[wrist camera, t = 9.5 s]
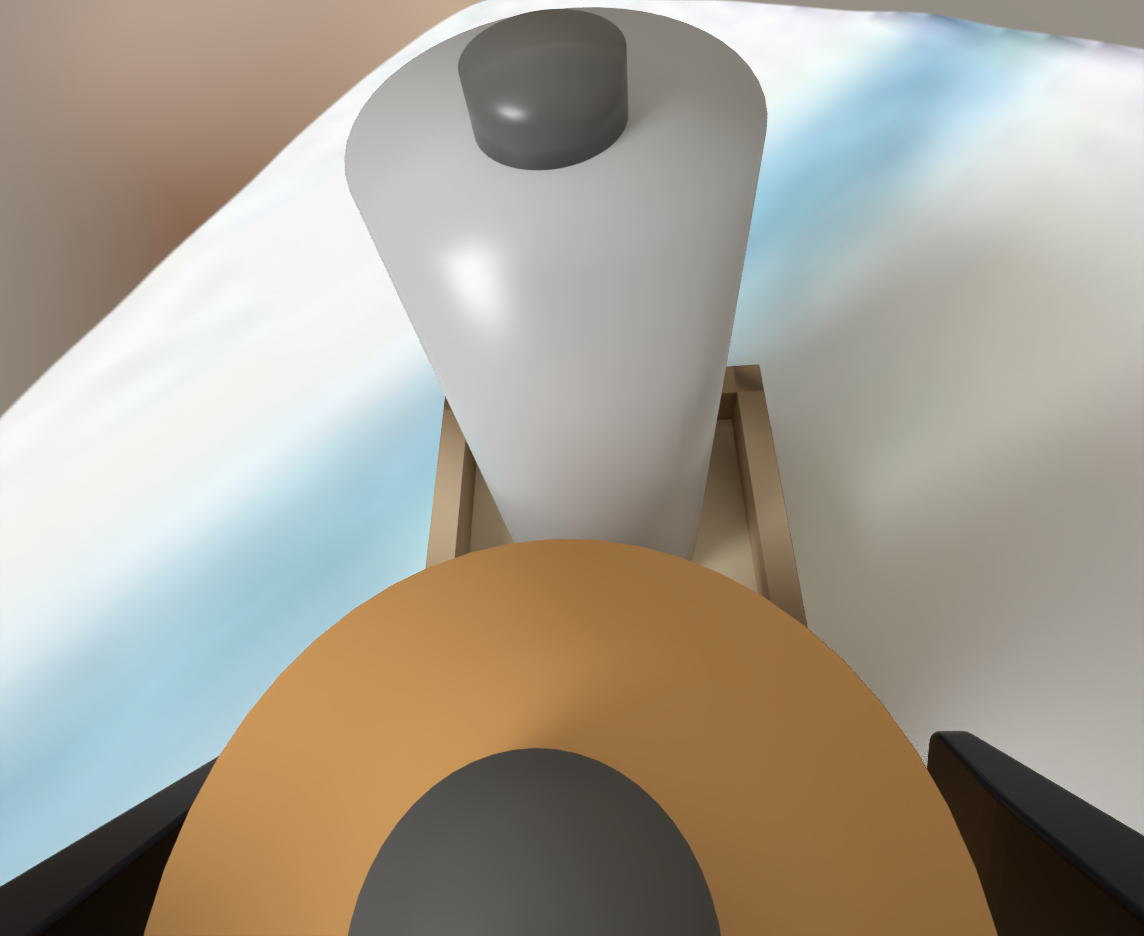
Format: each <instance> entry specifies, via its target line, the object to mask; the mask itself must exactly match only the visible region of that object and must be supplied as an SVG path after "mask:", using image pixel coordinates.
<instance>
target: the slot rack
mask: <svg viewBox="0 0 1144 936" xmlns="http://www.w3.org/2000/svg"><path fill="white" fill-rule="evenodd" d="M510 543H514V542H513V540H512V537H511V535H510V533H509V531H508V529H507V527H506V525H505V522H504V520H503V518H502V516H501V514H500V512H499V510H498V507H497V505H496V503H495V501H494V499H493V497H492V495H491V492H490V490H489V488H488V486H487V484H486V482H485V480H484V477H483V475H482V473H481V471H480V469H479V467H478V465H477V462H476V460H475V458H474V456H473V454H472V452H471V450H470V447H469V445H468V443H467V441H466V439H465V437H464V435H463V432H462V430H461V428H460V426H459V424H458V422H457V420H456V418H455V415H454V413H453V411H452V409H451V407H450V405H449V403H448V400H447V398H446V396H445V402H444V411H443V420H442V428H441V437H440V446H439V455H438V463H437V472H436V481H435V490H434V499H433V507H432V516H431V525H430V534H429V542H428V551H427V560H426V569H427V568H429V567H431V566H434V565H436V564H439V563H442V562H445V561H448V560H451V559H454V558H456V557H459V556H462V555H465V554H468V553H471V552H475V551H479V550H484V549H488V548H493V547H497V546H501V545H506V544H510ZM691 562H694V563H696V564H698V565H701V566H703V567H706V568H708V569H711V570H713V571H716V572H718V573H721V574H723V575H725V576H727V577H729V578H730V579H732V580H734V581H736V582H738V583H739V584H741V585H743V586H745V587H747V588H749V589H750V590H752V591H754V592H756V593H758V594H759V595H761V596H763V597H765V598H766V599H768V600H769V601H770V602H772V603H773V604H775V605H776V606H777V607H779V608H780V609H782V610H783V611H785V612H786V613H787V614H789V615H790V616H792V617H793V618H794V619H796V620H797V621H799V622H800V623H801V624H803V625H804V626H805V627H807V622H806V617H805V611H804V606H803V601H802V595H801V590H800V584H799V579H798V573H797V568H796V563H795V557H794V552H793V546H792V541H791V535H790V530H789V525H788V519H787V514H786V508H785V503H784V497H783V492H782V486H781V481H780V476H779V470H778V465H777V459H776V454H775V448H774V443H773V438H772V432H771V427H770V421H769V416H768V410H767V405H766V400H765V394H764V389H763V383H762V378H761V372H760V367H759V365H745V366H729V367H726V370H725V376H724V381H723V387H722V393H721V399H720V405H719V411H718V416H717V422H716V428H715V434H714V440H713V446H712V451H711V457H710V463H709V469H708V475H707V481H706V486H705V492H704V498H703V504H702V510H701V516H700V522H699V527H698V533H697V539H696V545H695V549H694V553H693V557H692V559H691Z"/></svg>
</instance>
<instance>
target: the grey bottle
mask: <svg viewBox="0 0 1144 936" xmlns="http://www.w3.org/2000/svg"><path fill="white" fill-rule="evenodd" d="M766 128H767V108H766V102H765V96H764V94H763V91H762V89H761V86H760V83H759V81H758V79H757V78H756V76H755V75H754V73H753V72H752V70H751V68H750V67H749V66H748V64H747V63H746V62H745V61H744V60H743V59H742V58H741V57H740V56H739V55H738V54H737V53H736V52H735V51H734V50H732V49H731V48H730V47H728V46H727V45H726V44H725V43H723V42H722V41H720V40H719V39H717V38H715V37H714V36H712V35H710V34H708V33H707V32H705V31H703V30H701V29H698V28H696V27H694V26H691V25H689V24H687V23H684V22H681V21H678V20H675V19H672V18H668V17H665V16H661V15H656V14H652V13H647V12H642V11H635V10H627V9H617V8H600V7H592V8H566V9H549V10H540V11H533V12H528V13H524V14H520V15H517V16H513V17H510V18H505V19H502V20H498V21H495V22H492V23H488V24H485V25H482V26H479V27H476V28H474V29H471V30H468V31H466V32H463V33H460V34H458V35H456V36H454V37H452V38H450V39H447V40H445V41H443V42H441V43H439V44H437V45H435V46H434V47H432V48H430V49H428V50H427V51H425V52H423V53H421V54H420V55H418V56H417V57H415V58H414V59H412V60H411V61H409V62H408V63H407V64H405V65H404V66H402V67H401V68H400V69H399V70H397V71H396V72H395V73H394V74H393V75H391V76H390V77H389V78H388V79H387V80H386V81H385V82H384V83H383V84H382V85H381V86H380V87H379V88H378V89H377V90H376V91H375V92H374V93H373V94H372V96H371V97H370V98H369V100H368V101H367V102H366V104H365V105H364V106H363V108H362V109H361V111H360V113H359V115H358V117H357V118H356V120H355V122H354V124H353V126H352V129H351V132H350V135H349V137H348V140H347V145H346V152H345V175H346V179H347V183H348V186H349V190H350V193H351V195H352V197H353V199H354V201H355V203H356V206H357V208H358V210H359V212H360V214H361V216H362V218H363V221H364V223H365V225H366V227H367V229H368V231H369V233H370V236H371V238H372V240H373V242H374V244H375V246H376V248H377V251H378V253H379V255H380V257H381V259H382V261H383V263H384V266H385V268H386V270H387V272H388V274H389V276H390V278H391V280H392V283H393V285H394V287H395V289H396V291H397V293H398V295H399V298H400V300H401V302H402V304H403V306H404V308H405V310H406V313H407V315H408V317H409V319H410V321H411V323H412V325H413V328H414V330H415V332H416V334H417V336H418V338H419V340H420V343H421V345H422V347H423V349H424V351H425V353H426V355H427V358H428V360H429V362H430V364H431V366H432V368H433V370H434V373H435V375H436V377H437V379H438V381H439V383H440V385H441V388H442V390H443V392H444V394H445V396H446V398H447V400H448V403H449V405H450V407H451V409H452V411H453V413H454V415H455V418H456V420H457V422H458V424H459V426H460V428H461V430H462V432H463V435H464V437H465V439H466V441H467V443H468V445H469V447H470V450H471V452H472V454H473V456H474V458H475V460H476V462H477V465H478V467H479V469H480V471H481V473H482V475H483V477H484V480H485V482H486V484H487V486H488V488H489V490H490V492H491V495H492V497H493V499H494V501H495V503H496V505H497V507H498V510H499V512H500V514H501V516H502V518H503V520H504V522H505V525H506V527H507V529H508V531H509V533H510V535H511V537H512V540H513V542H514V543H518V542H528V541H538V540H548V539H584V540H601V541H608V542H615V543H622V544H629V545H636V546H641V547H644V548H648V549H652V550H656V551H659V552H663V553H667V554H670V555H674V556H678V557H681V558H684V559H686V560H689V561H691V559H692V557H693V553H694V549H695V545H696V539H697V533H698V527H699V522H700V516H701V510H702V504H703V498H704V492H705V486H706V481H707V475H708V469H709V463H710V457H711V451H712V446H713V440H714V434H715V428H716V422H717V416H718V411H719V405H720V399H721V393H722V387H723V381H724V376H725V370H726V364H727V358H728V352H729V346H730V341H731V335H732V329H733V323H734V317H735V311H736V306H737V300H738V294H739V288H740V282H741V276H742V271H743V265H744V259H745V253H746V247H747V241H748V236H749V230H750V224H751V218H752V212H753V206H754V201H755V195H756V189H757V183H758V177H759V171H760V166H761V160H762V154H763V148H764V142H765V136H766Z"/></svg>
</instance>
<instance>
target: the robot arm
mask: <svg viewBox="0 0 1144 936" xmlns="http://www.w3.org/2000/svg"><path fill="white" fill-rule="evenodd" d="M218 757H219V756H218ZM218 757H216V758H215V759H213V760H211V761H210V762H208V763H206V764H205V765H203V766H201V767H200V768H198V769H196V770H195V771H193V772H191V773H190V774H188V775H186V776H185V777H183V778H181V779H180V780H178V781H176V782H175V783H173V784H171V785H170V786H168V787H166V788H165V789H163V790H161V791H160V792H158V793H156V794H155V795H153V796H151V797H150V798H148V799H146V800H145V801H143V802H141V803H140V804H138V805H136V806H134V807H133V808H131V809H129V810H128V811H126V812H124V813H123V814H121V815H119V816H118V817H116V818H114V819H113V820H111V821H109V822H108V823H106V824H104V825H103V826H101V827H99V828H98V829H96V830H94V831H93V832H91V833H89V834H88V835H86V836H84V837H83V838H81V839H79V840H78V841H76V842H74V843H73V844H71V845H69V846H68V847H66V848H64V849H63V850H61V851H59V852H58V853H56V854H54V855H53V856H51V857H49V858H48V859H46V860H44V861H42V862H41V863H39V864H37V865H36V866H34V867H32V868H31V869H29V870H27V871H26V872H24V873H22V874H21V875H19V876H17V877H16V878H14V879H12V880H11V881H9V882H7V883H6V884H4V885H2V886H1V887H0V936H144V932H145V929H146V925H147V922H148V919H149V916H150V913H151V910H152V907H153V903H154V900H155V897H156V894H157V891H158V888H159V885H160V881H161V878H162V875H163V872H164V869H165V866H166V864H167V862H168V859H169V857H170V855H171V852H172V850H173V847H174V845H175V843H176V840H177V838H178V836H179V833H180V831H181V829H182V826H183V824H184V822H185V819H186V817H187V815H188V812H189V810H190V808H191V806H192V805H193V803H194V801H195V799H196V797H197V795H198V794H199V792H200V790H201V788H202V786H203V784H204V782H205V781H206V779H207V777H208V775H209V773H210V771H211V770H212V768H213V766H214V764H215V762H216V760H217V759H218ZM927 770H928V772H929V774H930V775H931V777H932V779H933V781H934V782H935V784H936V786H937V788H938V789H939V791H940V793H941V795H942V796H943V798H944V800H945V802H946V803H947V805H948V807H949V809H950V811H951V813H952V816H953V818H954V820H955V822H956V825H957V827H958V829H959V832H960V834H961V836H962V838H963V841H964V843H965V845H966V847H967V850H968V852H969V854H970V856H971V859H972V861H973V863H974V865H975V868H976V870H977V873H978V876H979V879H980V882H981V885H982V888H983V891H984V895H985V898H986V901H987V904H988V907H989V910H990V913H991V916H992V919H993V922H994V925H995V928H996V932H997V935H998V936H1144V836H1143V835H1142V834H1140V833H1138V832H1136V831H1135V830H1133V829H1131V828H1130V827H1128V826H1126V825H1125V824H1123V823H1121V822H1120V821H1118V820H1116V819H1115V818H1113V817H1111V816H1109V815H1108V814H1106V813H1104V812H1103V811H1101V810H1099V809H1098V808H1096V807H1094V806H1093V805H1091V804H1089V803H1088V802H1086V801H1084V800H1082V799H1081V798H1079V797H1077V796H1076V795H1074V794H1072V793H1071V792H1069V791H1067V790H1066V789H1064V788H1062V787H1060V786H1059V785H1057V784H1055V783H1054V782H1052V781H1050V780H1049V779H1047V778H1045V777H1044V776H1042V775H1040V774H1039V773H1037V772H1035V771H1033V770H1032V769H1030V768H1028V767H1027V766H1025V765H1023V764H1022V763H1020V762H1018V761H1017V760H1015V759H1013V758H1012V757H1010V756H1008V755H1006V754H1005V753H1003V752H1001V751H1000V750H998V749H996V748H995V747H993V746H991V745H990V744H988V743H986V742H984V741H983V740H981V739H979V738H978V737H976V736H974V735H973V734H971V733H969V732H966V731H937V732H935V733H934V734H932V736H931V738H930V742H929V753H928V764H927Z"/></svg>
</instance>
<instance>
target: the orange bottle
mask: <svg viewBox="0 0 1144 936" xmlns="http://www.w3.org/2000/svg"><path fill="white" fill-rule="evenodd" d="M144 936H998V935H997V932H996V928H995V925H994V922H993V919H992V916H991V913H990V910H989V907H988V904H987V901H986V898H985V895H984V891H983V888H982V885H981V882H980V879H979V876H978V873H977V870H976V868H975V865H974V863H973V861H972V859H971V856H970V854H969V852H968V850H967V847H966V845H965V843H964V841H963V838H962V836H961V834H960V832H959V829H958V827H957V825H956V822H955V820H954V818H953V816H952V813H951V811H950V809H949V807H948V805H947V803H946V802H945V800H944V798H943V796H942V795H941V793H940V791H939V789H938V788H937V786H936V784H935V782H934V781H933V779H932V777H931V775H930V774H929V772H928V770H927V768H926V767H925V765H924V763H923V761H922V760H921V758H920V756H919V754H918V753H917V751H916V750H915V748H914V747H913V746H912V744H911V743H910V741H909V740H908V739H907V737H906V736H905V734H904V733H903V732H902V730H901V729H900V728H899V726H898V725H897V723H896V722H895V721H894V719H893V718H892V716H891V715H890V714H889V712H888V711H887V710H886V708H885V707H884V705H883V704H882V703H881V702H880V700H879V699H878V698H877V697H876V696H875V695H874V694H873V693H872V692H871V690H870V689H869V688H868V687H867V686H866V685H865V684H864V683H863V681H862V680H861V679H860V678H859V677H858V676H857V675H856V674H855V673H854V671H853V670H852V669H851V668H850V667H849V666H848V665H847V664H846V663H845V661H844V660H842V659H841V658H840V657H839V656H838V655H837V654H836V653H835V652H833V651H832V650H831V649H830V648H829V647H828V646H827V645H826V644H824V643H823V642H822V641H821V640H820V639H819V638H818V637H817V636H816V635H814V634H813V633H812V632H811V631H810V630H809V629H808V628H807V627H805V626H804V625H803V624H801V623H800V622H799V621H797V620H796V619H794V618H793V617H792V616H790V615H789V614H787V613H786V612H785V611H783V610H782V609H780V608H779V607H777V606H776V605H775V604H773V603H772V602H770V601H769V600H768V599H766V598H765V597H763V596H761V595H759V594H758V593H756V592H754V591H752V590H750V589H749V588H747V587H745V586H743V585H741V584H739V583H738V582H736V581H734V580H732V579H730V578H729V577H727V576H725V575H723V574H721V573H718V572H716V571H713V570H711V569H708V568H706V567H703V566H701V565H698V564H696V563H694V562H691V561H689V560H686V559H684V558H681V557H678V556H674V555H670V554H667V553H663V552H659V551H656V550H652V549H648V548H644V547H641V546H636V545H629V544H622V543H615V542H608V541H601V540H584V539H548V540H538V541H528V542H518V543H510V544H506V545H501V546H497V547H493V548H488V549H484V550H479V551H475V552H471V553H468V554H465V555H462V556H459V557H456V558H454V559H451V560H448V561H445V562H442V563H439V564H436V565H434V566H431V567H429V568H427V569H425V570H423V571H420V572H418V573H416V574H414V575H412V576H410V577H408V578H406V579H404V580H402V581H400V582H398V583H396V584H394V585H392V586H390V587H388V588H387V589H385V590H384V591H382V592H381V593H379V594H377V595H376V596H374V597H373V598H371V599H370V600H368V601H366V602H365V603H363V604H362V605H360V606H358V607H357V608H355V609H354V610H352V611H351V612H350V613H349V614H347V615H346V616H345V617H344V618H342V619H341V620H340V621H339V622H337V623H336V624H335V625H334V626H332V627H331V628H330V629H328V630H327V631H326V632H325V633H323V634H322V635H321V636H320V637H318V638H317V639H316V640H315V641H314V642H313V643H312V644H311V645H310V646H309V647H308V648H307V649H306V650H305V651H304V652H303V653H302V654H301V655H300V656H299V657H298V658H297V659H296V660H295V661H294V662H293V663H292V664H291V665H290V666H289V667H288V668H286V669H285V670H284V671H283V672H282V673H281V674H280V676H279V677H278V678H277V679H276V680H275V682H274V683H273V684H272V685H271V687H270V688H269V689H268V690H267V691H266V693H265V694H264V695H263V696H262V697H261V699H260V700H259V701H258V702H257V703H256V705H255V706H254V707H253V708H252V709H251V711H250V712H249V713H248V714H247V716H246V717H245V719H244V720H243V722H242V723H241V725H240V726H239V728H238V729H237V731H236V732H235V734H234V735H233V737H232V738H231V740H230V741H229V742H228V744H227V745H226V747H225V748H224V750H223V751H222V753H221V754H220V756H219V757H218V759H217V760H216V762H215V764H214V766H213V768H212V770H211V771H210V773H209V775H208V777H207V779H206V781H205V782H204V784H203V786H202V788H201V790H200V792H199V794H198V795H197V797H196V799H195V801H194V803H193V805H192V806H191V808H190V810H189V812H188V815H187V817H186V819H185V822H184V824H183V826H182V829H181V831H180V833H179V836H178V838H177V840H176V843H175V845H174V847H173V850H172V852H171V855H170V857H169V859H168V862H167V864H166V866H165V869H164V872H163V875H162V878H161V881H160V885H159V888H158V891H157V894H156V897H155V900H154V903H153V907H152V910H151V913H150V916H149V919H148V922H147V925H146V929H145V932H144Z"/></svg>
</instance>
